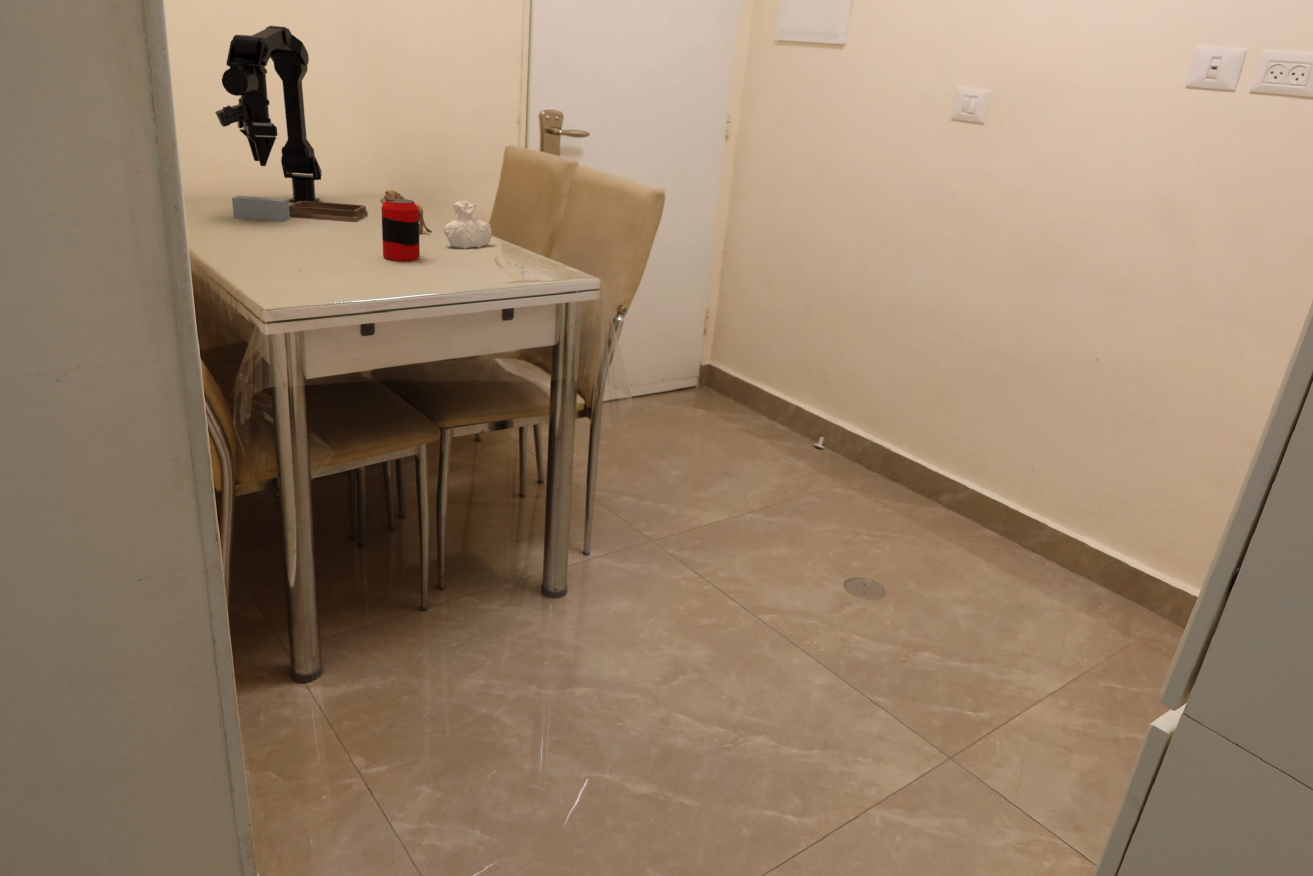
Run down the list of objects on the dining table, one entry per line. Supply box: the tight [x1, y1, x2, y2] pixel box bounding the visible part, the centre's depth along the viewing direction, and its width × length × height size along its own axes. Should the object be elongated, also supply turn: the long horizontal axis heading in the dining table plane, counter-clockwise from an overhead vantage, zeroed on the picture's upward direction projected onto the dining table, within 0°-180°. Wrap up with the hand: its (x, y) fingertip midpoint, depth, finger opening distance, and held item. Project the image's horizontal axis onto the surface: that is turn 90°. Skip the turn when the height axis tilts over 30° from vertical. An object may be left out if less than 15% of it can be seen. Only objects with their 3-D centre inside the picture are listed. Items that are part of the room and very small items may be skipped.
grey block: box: [231, 195, 291, 222], centre depth 221 cm, size 4×12×5 cm, turn 92°
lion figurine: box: [380, 189, 433, 235], centre depth 222 cm, size 15×5×9 cm, turn 63°
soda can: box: [380, 198, 421, 262], centre depth 192 cm, size 8×8×12 cm
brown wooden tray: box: [289, 201, 368, 223], centre depth 232 cm, size 11×17×2 cm, turn 92°
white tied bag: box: [443, 200, 492, 250], centre depth 210 cm, size 12×8×11 cm
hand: (259, 163), depth 217 cm, fingers open, 9 cm apart
